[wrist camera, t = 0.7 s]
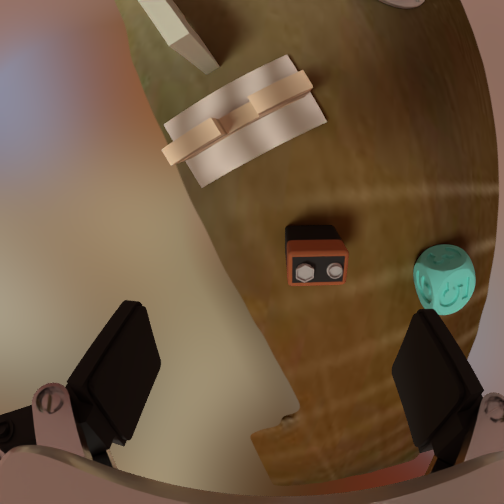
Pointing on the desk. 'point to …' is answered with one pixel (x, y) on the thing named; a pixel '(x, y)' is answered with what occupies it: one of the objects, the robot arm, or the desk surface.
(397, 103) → the desk surface
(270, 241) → the desk surface
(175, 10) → the beige rectangular panel
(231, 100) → the stand
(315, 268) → the battery
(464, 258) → the decorative dice
